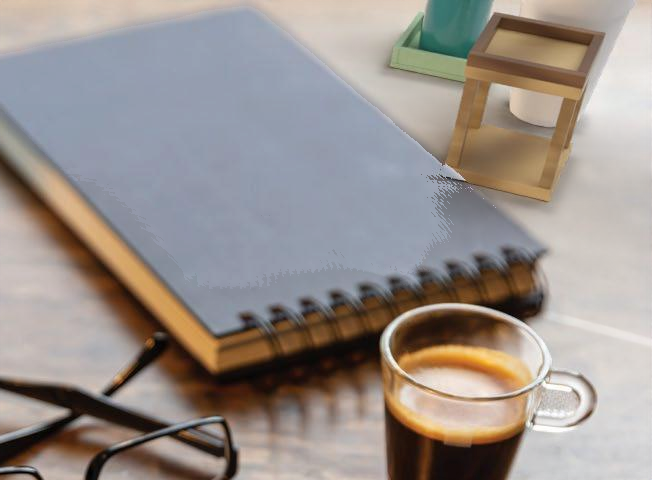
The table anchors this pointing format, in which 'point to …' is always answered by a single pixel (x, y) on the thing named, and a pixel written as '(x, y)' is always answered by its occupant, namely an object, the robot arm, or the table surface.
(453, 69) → the tray
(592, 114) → the table surface
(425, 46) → the teal rounded block
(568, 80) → the stand
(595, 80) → the foam cup
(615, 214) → the table surface
